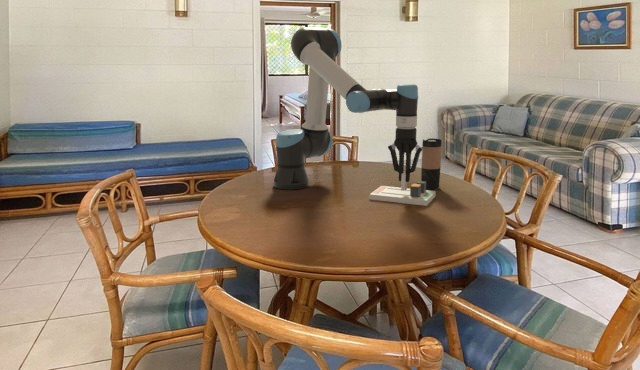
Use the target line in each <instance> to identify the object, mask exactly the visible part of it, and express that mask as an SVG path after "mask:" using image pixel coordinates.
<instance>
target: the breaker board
mask: <svg viewBox="0 0 640 370" xmlns="http://www.w3.org/2000/svg"><path fill="white" fill-rule="evenodd" d="M415 184H421V195H420V196H419V197H415V196H410V188H408V187H407V189H406V190H405V191H401V187H397V186H387V185H380V186H379V187H378V188H377V189H375V190H374V191H372V192H371V193H370V194H369V200H373V201H381V202H384V201H385V202H390V203H398V204H409V205H415V206H426V207H427V206H428V205H429V204H430V203H431V202H432V201H433V200H434V199H435V198H436V197H437V196H436V193H437V191H435V190H426V182H425V181H421V180H418V181H417V182H416V183H415Z"/></svg>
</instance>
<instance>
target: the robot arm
mask: <svg viewBox="0 0 640 370" xmlns="http://www.w3.org/2000/svg"><path fill="white" fill-rule="evenodd" d="M290 41H291V42H290V47H291V51H292V53H293V55H294V56H295V58H296V59H297V60H299V62H301V63H302V65H307V66H308V67H309V68H308V69H309V70H308V81H307V82H308V86H307V99H306V108H305V109H306V111H305V122H304V123H303V124H301V128H291V129H286V130H282V131H280V132H278V133H277V134H276V137H275V138H276V139H275V140H276V142H275V146H276V147H275V148H276V171H275V174H274V175H275V176H274V178H273V187H274V188H276V189H279V190H289V191H290V190H300V189H305V188H309V186H310V179H309V175H308V173H307V170H306V167H305V166H306V165H305V159H311V158H315V157H321V156H323V155H326V154H327V153H328V152H330V150H331V149H332V146H333V136H332V133H331V132H330V130H329V126H328V125H327V124H326V119H327V108H328V107H327V106H328V95H329V86H330V87H331V88H332V89H334V91H335V92H337V94H339V95H340V96H341V97H342V98H343V99H344V100H345V105H346V107H347V110H348V111H349V112H351V113H355V114H356V113H359V114H361V113H362V114H363V113H366V112H367V113H368V112H374V111H383V110H390V111H396V112H395V113H396V114H395V126H396V128H395V139H394V142H393V143H392V144H389V145H388V146H387V149H388V150H389V152H390V156H391V160H392V161H391V162H392V166H393V170H394V172H397V173H398V182H400V188H401V191H405V190H406V189H407V188H408V182H410V180H411V173H414V172H415V171H416V168H417V165H418V162H419V158H420V155H421V154H422V150H423V147H422V146H420V145H419V144H418V142H417V128H416V127H417V126H418V100H419V87H418V85H417V84H414V83H406V84H405V83H401V84H397V86H396V89H389V88H382V87H381V88H373V89H369V90H367V89H366V88H365V87H364V86H362V85H361V84H360V83H359V82H358V81H357V80H355V78H353V77H352V76H351V74H349V73H347V71H346V70H344V69H343V68H342V67H341V66H340V65H339V64H338V63H337V62H335V59H336V58H337V57H338V56H339V54H340V53H341V51H342V40H341V38H340V35H339V34H338V32H337V31H336V30H335V29H332V28H328V27H327V28H326V27H302V28H300V29H298V30H296V31H295V32H294V33H293V35H292V37H291V40H290ZM414 149H415V153H414V157H413V159H412V152H413V151H414ZM396 150H397V151H398V156H397V151H396ZM411 161H412V162H411ZM404 167H405V168H404ZM404 169H405V170H404Z"/></svg>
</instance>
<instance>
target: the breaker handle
mask: <svg viewBox="0 0 640 370" xmlns="http://www.w3.org/2000/svg"><path fill="white" fill-rule="evenodd" d="M409 189H410V196H415V197H419V196H420V195H421V184H416V183H412V184H411V185H410V188H409Z"/></svg>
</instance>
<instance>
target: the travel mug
mask: <svg viewBox="0 0 640 370" xmlns="http://www.w3.org/2000/svg"><path fill="white" fill-rule="evenodd" d="M421 147H423V150H422V151H421V169H420V170H421V174H420V176H421V177H420V179H421V180H420V181H425V182H426V190H428V191H435V189H436V190H439V189H440V180H441V163H442V139H440V138H433V137H432V138H427V139H423V138H422V145H421ZM438 188H439V189H438Z"/></svg>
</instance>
